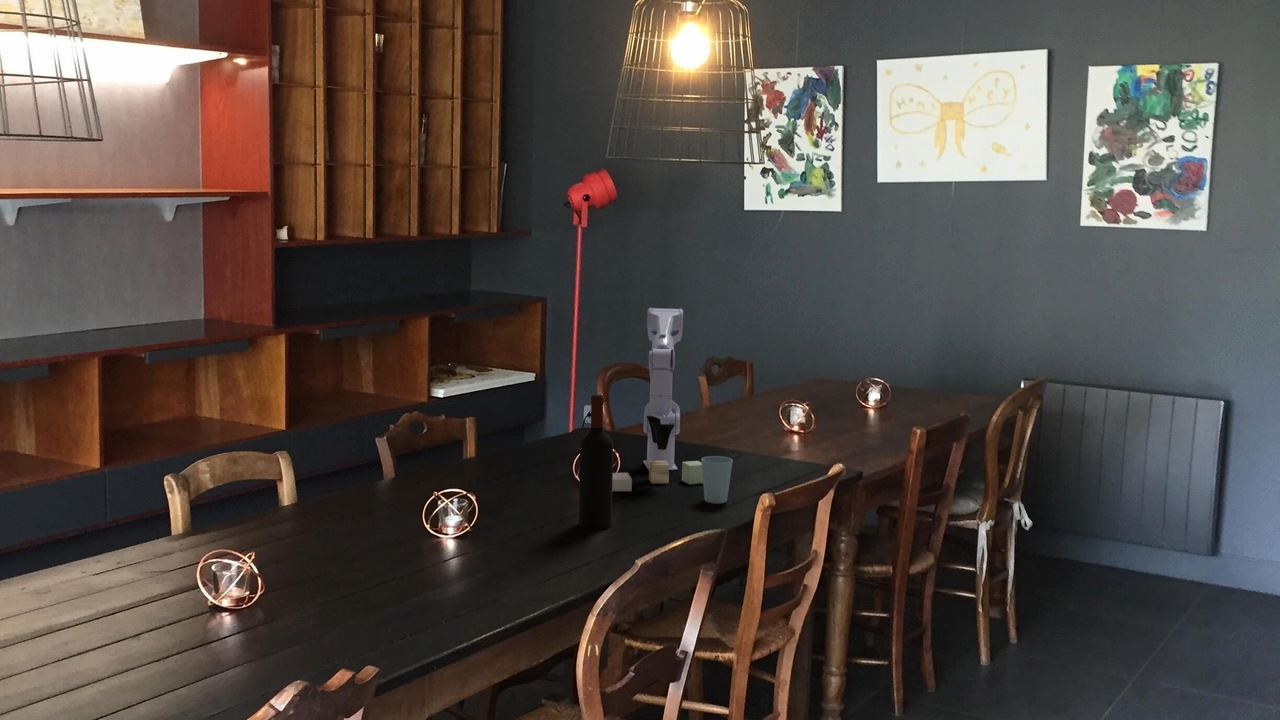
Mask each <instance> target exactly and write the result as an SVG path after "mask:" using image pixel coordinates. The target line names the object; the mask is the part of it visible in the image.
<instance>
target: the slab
mask: <svg viewBox="0 0 1280 720" xmlns="http://www.w3.org/2000/svg"><path fill="white" fill-rule="evenodd" d="M615 473H616V474H615ZM632 485H633V479H632V477H631V476H630V474H629V472H613V486H612V492H632V491H633V490H632Z"/></svg>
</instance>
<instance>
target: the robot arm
mask: <svg viewBox="0 0 1280 720" xmlns="http://www.w3.org/2000/svg"><path fill="white" fill-rule="evenodd" d="M646 318H647V320H646V324H647V325H646V326H647V336H648V341H650V342H651V350H649V352H648V353H649V354H648V369H649V378H650V379H649V380H650V381H649V402H648V403H647V404H646V405H645V406H644V413H643V432H644V433H645V434H647V448H646V450H647V451H646V452H647V453H646V454H647V455H646V456H647V457H646V460H643V464H644V465H645V467H646V469H647V470H648V471H649V461H667V462H668V464H669V471H677V470H678V467H677V466H676V464H675V444H676V443H675V439H676V435H678V434H680V428H681V427H680V426H681V421H680V420H681V412H680V411H681V410H680V406H679V405H678V404H677V403H676V402H674V401H673V399H672V398H673V372H674V369H675V360H676V359H675V358H676V356H675V355H676V353H675V348H674V347H675V345H676V343H679V342H680V341H681V340H682V337H683V330H684V329H683V327H684V310H683V309H682V308H660V307H659V308H653V307H649V308H648V309H647V316H646Z"/></svg>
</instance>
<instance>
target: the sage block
mask: <svg viewBox="0 0 1280 720" xmlns="http://www.w3.org/2000/svg"><path fill="white" fill-rule="evenodd" d="M681 481H682V482H684V483H686V484H688V485H697V484H699V483H700V484H703V473H702V461H700V460H691V461H682V465H681ZM700 484H699V485H700Z"/></svg>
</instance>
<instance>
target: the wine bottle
mask: <svg viewBox="0 0 1280 720" xmlns="http://www.w3.org/2000/svg"><path fill="white" fill-rule="evenodd" d="M590 396H591V398H590V430H589V431H588V432H587V433H586V434H584V436H582V438H581V439H580V443H579V473H578V474H579V475H578V476H579V482H578V483H579V485H578V487H579V490H578V527H579V528H581V529H585V530H589V531H591V530H592V531H599V530H601V531H602V530H603V531H604V530H606V529H610V528H611V527H612V526H613V524H612V523H613V491H612V486H613V473H614V441H613V438H611V436H610V435H609V434H608V433H606V431H604V430H605V429H604V403H605V401H604V400H605V398H604V397H605V396H604V395H603V394H591V395H590Z"/></svg>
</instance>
